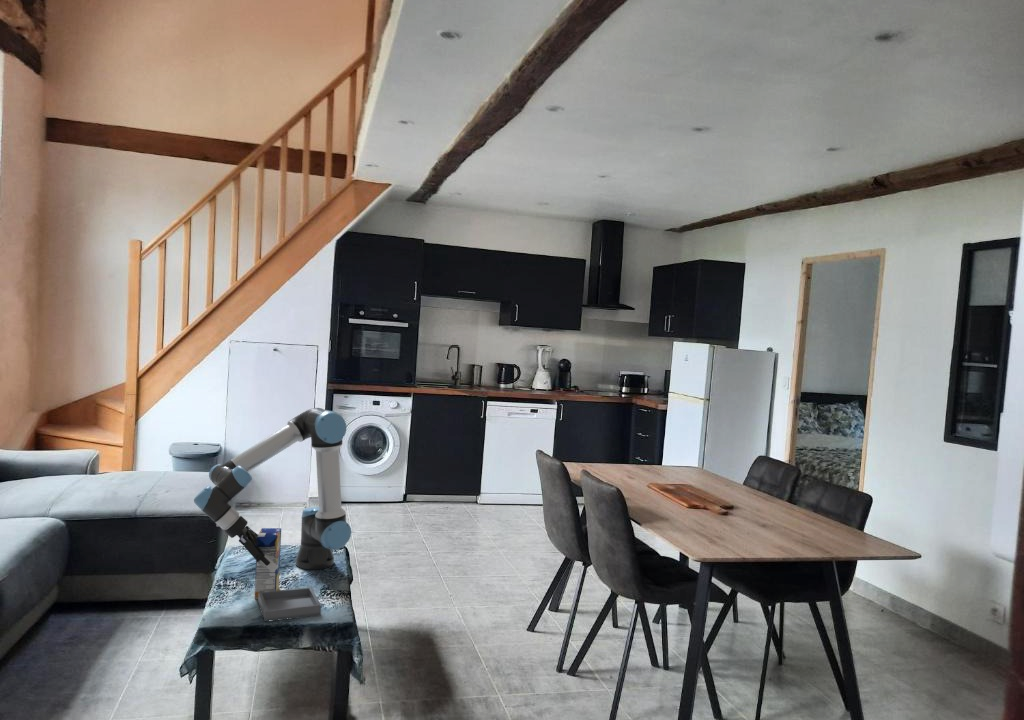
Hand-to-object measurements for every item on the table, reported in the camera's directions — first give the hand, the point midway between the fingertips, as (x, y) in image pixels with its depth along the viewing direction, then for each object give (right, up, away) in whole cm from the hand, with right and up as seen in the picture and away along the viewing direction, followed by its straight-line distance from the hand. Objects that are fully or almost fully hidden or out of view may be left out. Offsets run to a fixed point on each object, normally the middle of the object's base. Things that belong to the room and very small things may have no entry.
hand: (276, 564), depth 263 cm
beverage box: (-3, -10, 0) cm, 11 cm away
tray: (+9, -11, -14) cm, 20 cm away
